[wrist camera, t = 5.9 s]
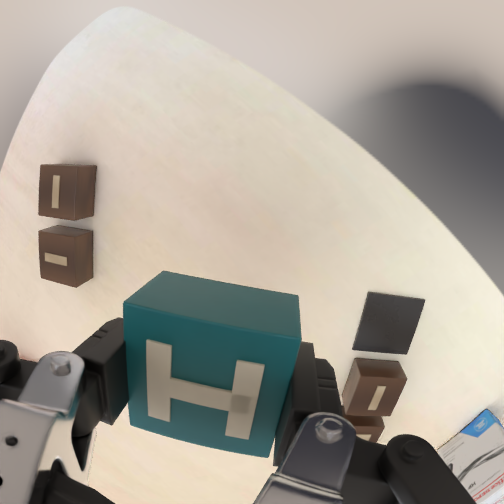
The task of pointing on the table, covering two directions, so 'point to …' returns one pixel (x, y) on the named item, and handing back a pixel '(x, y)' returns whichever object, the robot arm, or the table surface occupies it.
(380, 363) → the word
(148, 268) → the table surface
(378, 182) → the table surface
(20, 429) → the robot arm
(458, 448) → the ink box
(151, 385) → the teal letter h block
